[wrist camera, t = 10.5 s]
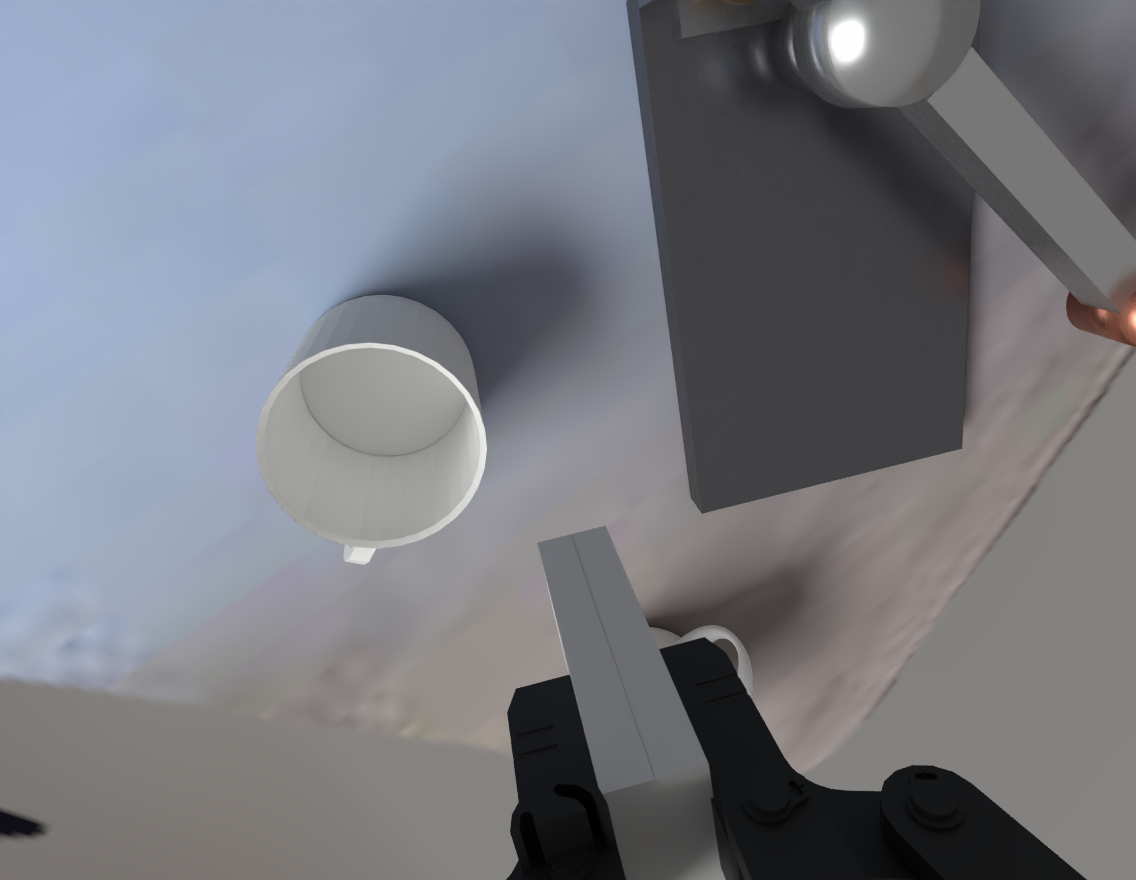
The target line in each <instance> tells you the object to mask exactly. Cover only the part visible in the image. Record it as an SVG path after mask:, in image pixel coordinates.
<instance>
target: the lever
mask: <svg viewBox="0 0 1136 880" xmlns="http://www.w3.org/2000/svg"><path fill="white" fill-rule="evenodd" d="M790 1H791V3H792V4H793V5H794V6H795V7H796V12H795V17H794V23H793V50H794V55H795V60H796V63H797V66H798V69H799V71H800V73H801V76H802V78H803V79H804V81H805V82H806V84H807V85H808V87H809V88H810V89H811V90H812V91H813V92H814V93H815V94H816V95H817V96H818V97H819V98H821V99H823V100H824V101H826V102H827V103H830V104H832V105H835V106H838V107H842V108H876V107H897V108H898V109H899V110H900V111H901V112H902V113H903V114H904V115H905V116H906V117H907V118H908V119H909V120H910V121H911V123H912V124H913V125H914V126H915V127H916V128H917V129H918V130H919V131H920V132H921V133H922V134H923V135H924V136H925V137H926V139H927V140H928V141H929V142H930V143H931V144H932V145H933V146H934V147H935V148H936V149H937V150H938V151H939V152H940V153H941V155H942V156H943V157H944V158H945V159H946V160H947V161H948V162H949V163H950V164H951V165H952V166H953V167H954V168H955V170H956V171H957V172H958V173H959V174H960V175H961V176H962V177H963V178H964V179H965V180H966V181H967V182H968V183H969V184H970V186H971V187H972V188H973V189H974V190H975V191H976V192H977V193H978V194H979V195H980V196H981V197H982V198H983V199H984V200H985V202H986V203H987V204H988V205H989V206H990V207H991V208H992V209H993V210H994V211H995V212H996V213H997V214H998V215H999V217H1000V218H1001V219H1002V220H1003V221H1004V222H1005V223H1006V224H1007V225H1008V226H1009V227H1010V228H1011V229H1012V230H1013V231H1014V233H1015V234H1016V235H1017V236H1018V237H1019V238H1020V239H1021V240H1022V241H1023V242H1024V243H1025V244H1026V245H1027V246H1028V247H1029V249H1030V250H1031V251H1032V252H1033V253H1034V254H1035V255H1036V256H1037V257H1038V258H1039V259H1040V260H1041V261H1042V262H1043V264H1044V265H1045V266H1046V267H1047V268H1048V269H1049V270H1050V271H1051V272H1052V273H1053V274H1054V275H1055V276H1056V277H1057V278H1058V280H1059V281H1060V282H1061V283H1062V284H1063V285H1064V286H1065V287H1066V288H1067V289H1068V290H1069V294H1068V297H1067V303H1066V311H1067V316H1068V319H1069V320H1070V322H1071V323H1072V325H1074V326H1075V327H1076V328H1078V329H1080V330H1083V331H1086V332H1090V333H1093V334H1096V335H1099V336H1102V337H1105V338H1109V339H1112V340H1115V341H1118V342H1121V343H1124V344H1128V345H1131V346H1134V347H1136V240H1135V239H1134V238H1133V237H1132V236H1131V234H1130V233H1129V232H1128V231H1127V230H1126V229H1125V227H1124V226H1123V225H1122V224H1121V223H1120V221H1119V220H1118V219H1117V218H1116V217H1115V216H1114V214H1113V213H1112V212H1111V211H1110V210H1109V208H1108V207H1107V206H1106V205H1105V204H1104V203H1103V201H1102V200H1101V199H1100V198H1099V197H1098V195H1097V194H1096V193H1095V192H1094V191H1093V190H1092V188H1091V187H1090V186H1089V185H1088V184H1087V182H1086V181H1085V180H1084V179H1083V178H1082V177H1081V175H1080V174H1079V173H1078V172H1077V171H1076V169H1075V168H1074V167H1073V166H1072V165H1071V164H1070V162H1069V161H1068V160H1067V159H1066V158H1065V156H1064V155H1063V154H1062V153H1061V152H1060V151H1059V149H1058V148H1057V147H1056V146H1055V145H1054V143H1053V142H1052V141H1051V140H1050V139H1049V138H1048V136H1047V135H1046V134H1045V133H1044V132H1043V130H1042V129H1041V128H1040V127H1039V126H1038V125H1037V123H1036V122H1035V121H1034V120H1033V119H1032V117H1031V116H1030V115H1029V114H1028V113H1027V112H1026V110H1025V109H1024V108H1023V107H1022V106H1021V104H1020V103H1019V102H1018V101H1017V100H1016V99H1015V97H1014V96H1013V95H1012V94H1011V93H1010V91H1009V90H1008V89H1007V88H1006V87H1005V86H1004V84H1003V83H1002V82H1001V81H1000V80H999V78H998V77H997V76H996V75H995V74H994V73H993V71H992V70H991V69H990V68H989V67H988V65H987V64H986V63H985V62H984V61H983V60H982V58H981V57H980V56H979V55H978V54H977V52H976V51H975V50H974V49H973V48H972V47H970V46H971V44H972V42H973V39H974V36H975V33H976V30H977V25H978V21H979V15H980V8H981V0H790Z"/></svg>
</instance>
